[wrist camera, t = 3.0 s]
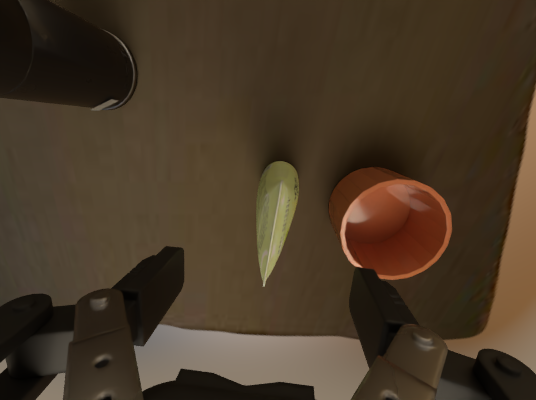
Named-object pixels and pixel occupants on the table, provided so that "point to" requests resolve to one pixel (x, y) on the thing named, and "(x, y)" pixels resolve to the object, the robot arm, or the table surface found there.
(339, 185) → the pen cup
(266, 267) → the tube
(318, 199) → the table surface
